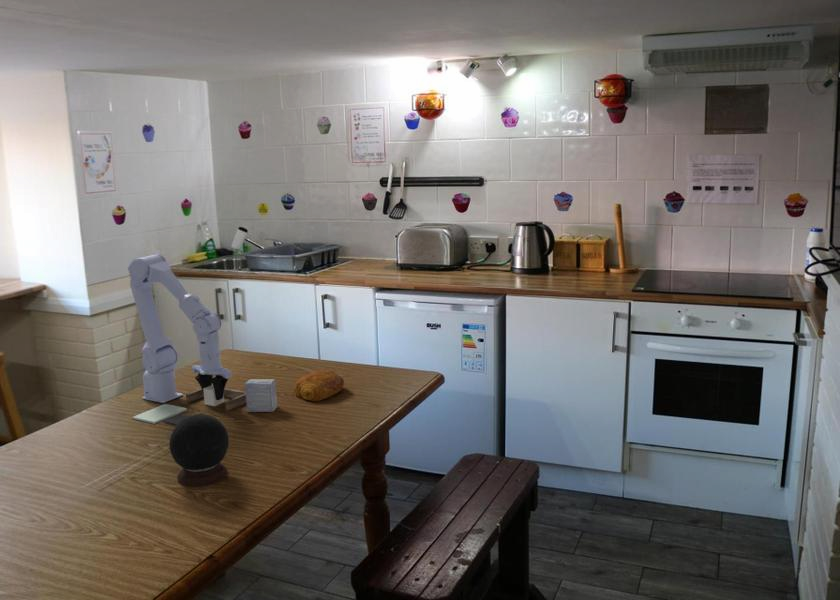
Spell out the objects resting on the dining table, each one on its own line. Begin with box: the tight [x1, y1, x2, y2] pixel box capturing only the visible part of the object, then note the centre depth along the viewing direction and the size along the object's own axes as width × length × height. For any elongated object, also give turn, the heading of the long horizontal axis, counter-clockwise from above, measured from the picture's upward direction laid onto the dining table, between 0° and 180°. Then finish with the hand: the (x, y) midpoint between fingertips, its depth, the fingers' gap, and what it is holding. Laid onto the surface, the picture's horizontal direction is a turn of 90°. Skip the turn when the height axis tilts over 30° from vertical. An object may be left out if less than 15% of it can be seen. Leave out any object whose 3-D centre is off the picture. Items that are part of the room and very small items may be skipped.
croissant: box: [293, 369, 345, 402], centre depth 231 cm, size 14×16×8 cm
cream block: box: [203, 384, 225, 407], centre depth 225 cm, size 4×4×5 cm
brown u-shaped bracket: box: [185, 387, 246, 412], centre depth 227 cm, size 17×10×2 cm, turn 60°
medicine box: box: [244, 378, 278, 413], centre depth 218 cm, size 8×4×9 cm, turn 84°
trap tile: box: [163, 413, 189, 426], centre depth 212 cm, size 6×6×1 cm
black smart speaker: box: [169, 413, 230, 488], centre depth 174 cm, size 13×13×15 cm
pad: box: [131, 403, 188, 425], centre depth 217 cm, size 9×12×1 cm
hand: (214, 398), depth 225 cm, fingers closed on cream block, 4 cm apart
